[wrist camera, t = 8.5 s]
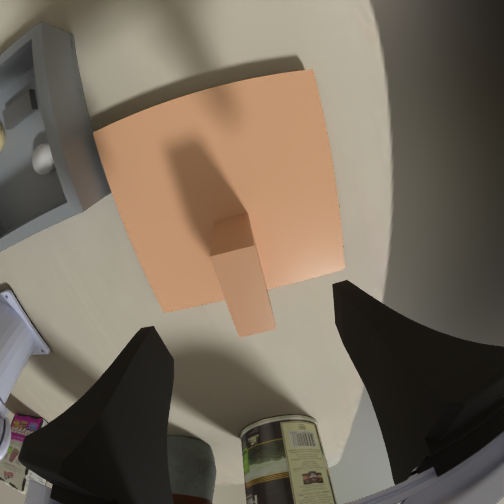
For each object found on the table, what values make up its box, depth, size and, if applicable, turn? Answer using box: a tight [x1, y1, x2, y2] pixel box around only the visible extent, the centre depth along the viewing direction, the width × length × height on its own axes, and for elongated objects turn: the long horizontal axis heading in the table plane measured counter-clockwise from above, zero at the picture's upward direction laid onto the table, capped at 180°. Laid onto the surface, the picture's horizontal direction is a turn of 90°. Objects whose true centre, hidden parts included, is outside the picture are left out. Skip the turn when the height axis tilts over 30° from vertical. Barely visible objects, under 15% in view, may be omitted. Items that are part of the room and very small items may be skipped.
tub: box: [0, 21, 111, 252], centre depth 11 cm, size 12×12×4 cm
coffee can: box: [240, 415, 337, 504], centre depth 24 cm, size 10×10×14 cm
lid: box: [93, 69, 345, 337], centre depth 14 cm, size 13×13×6 cm
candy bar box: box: [0, 414, 48, 495], centre depth 23 cm, size 11×5×16 cm, turn 106°
